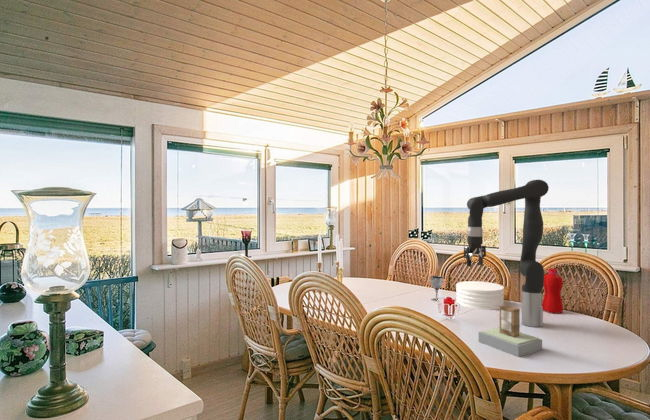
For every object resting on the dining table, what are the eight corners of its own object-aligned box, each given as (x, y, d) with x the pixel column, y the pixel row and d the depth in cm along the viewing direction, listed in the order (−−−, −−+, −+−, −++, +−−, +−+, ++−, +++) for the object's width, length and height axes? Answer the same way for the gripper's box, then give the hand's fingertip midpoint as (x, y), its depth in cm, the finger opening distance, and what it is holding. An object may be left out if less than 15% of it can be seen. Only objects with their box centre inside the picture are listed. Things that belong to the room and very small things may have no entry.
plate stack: (489, 312, 226) (489, 292, 226) (447, 303, 248) (447, 285, 248) (512, 304, 244) (512, 286, 243) (471, 296, 266) (471, 279, 265)
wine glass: (443, 301, 251) (443, 278, 250) (430, 301, 252) (430, 277, 252) (442, 298, 258) (442, 276, 258) (430, 298, 260) (430, 275, 260)
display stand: (542, 349, 168) (542, 338, 168) (518, 356, 161) (518, 344, 161) (501, 335, 186) (501, 325, 186) (478, 341, 178) (478, 330, 178)
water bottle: (552, 315, 220) (553, 270, 220) (539, 309, 231) (540, 267, 230) (567, 314, 221) (568, 270, 221) (554, 309, 232) (554, 267, 232)
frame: (519, 335, 171) (519, 308, 171) (513, 337, 169) (513, 310, 169) (505, 331, 177) (505, 305, 177) (499, 332, 176) (499, 306, 175)
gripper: (471, 236, 200) (471, 267, 200) (490, 235, 207) (490, 265, 207) (459, 235, 207) (459, 265, 207) (478, 234, 213) (478, 263, 214)
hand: (474, 265), depth 207 cm, fingers open, 8 cm apart
